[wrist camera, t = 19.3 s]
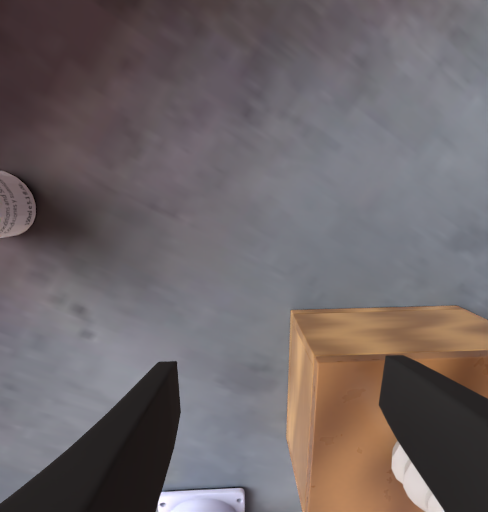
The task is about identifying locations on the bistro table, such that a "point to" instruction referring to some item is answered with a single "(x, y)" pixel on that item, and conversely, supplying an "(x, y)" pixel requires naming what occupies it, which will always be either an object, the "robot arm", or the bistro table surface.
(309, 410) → the keepsake box
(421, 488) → the rook chess piece
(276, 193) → the bistro table surface
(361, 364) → the lid
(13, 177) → the bottle
